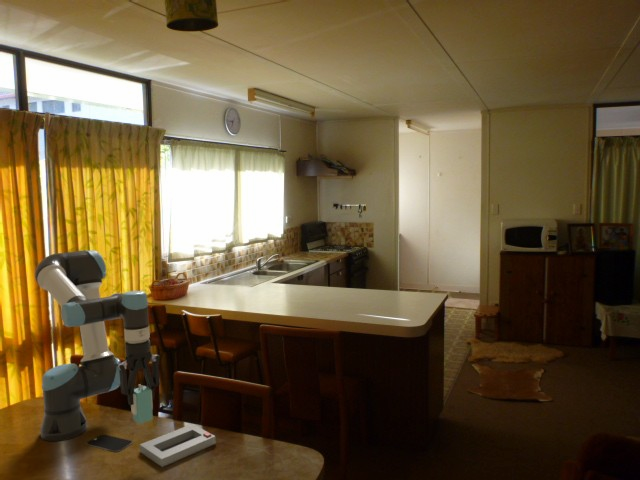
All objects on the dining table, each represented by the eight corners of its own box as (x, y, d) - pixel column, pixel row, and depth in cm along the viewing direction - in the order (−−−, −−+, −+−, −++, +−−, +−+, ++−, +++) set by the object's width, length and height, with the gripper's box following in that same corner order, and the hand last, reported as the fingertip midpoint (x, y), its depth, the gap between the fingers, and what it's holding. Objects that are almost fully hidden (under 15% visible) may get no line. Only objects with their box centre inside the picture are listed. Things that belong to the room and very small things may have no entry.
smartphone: (102, 433, 187) (134, 441, 181) (102, 435, 187) (134, 443, 181) (84, 443, 180) (117, 451, 174) (84, 445, 180) (117, 453, 174)
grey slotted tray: (140, 452, 174) (139, 442, 174) (192, 431, 188) (192, 422, 188) (162, 467, 164) (161, 457, 164) (215, 444, 179) (215, 434, 178)
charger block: (133, 420, 170) (130, 385, 169) (146, 415, 173) (144, 381, 172) (139, 424, 167) (136, 388, 166) (152, 419, 170) (150, 385, 169)
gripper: (115, 348, 159) (120, 423, 161) (168, 336, 171) (172, 406, 173) (105, 344, 164) (110, 416, 167) (157, 332, 176) (162, 400, 179)
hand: (142, 410), depth 170 cm, fingers closed on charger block, 4 cm apart
